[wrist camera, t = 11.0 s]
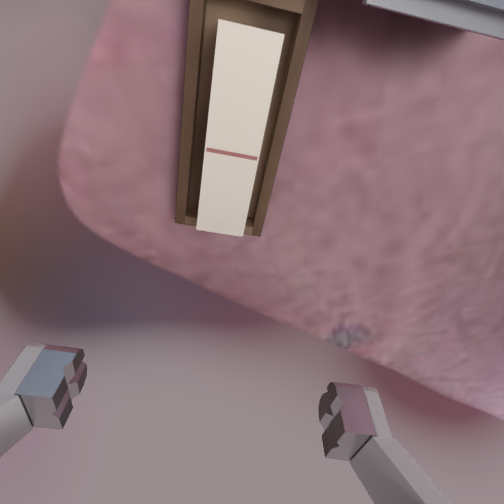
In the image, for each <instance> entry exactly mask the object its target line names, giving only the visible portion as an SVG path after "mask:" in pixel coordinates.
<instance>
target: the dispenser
mask: <svg viewBox="0 0 504 504" xmlns="http://www.w3.org/2000/svg"><path fill="white" fill-rule="evenodd" d="M362 4H365V5H368V6H372V7H376V8H380V9H384V10H388V11H392V12H396V13H399V14H403V15H407V16H411V17H415V18H419V19H423V20H427V21H430V22H434V23H438V24H442V25H446V26H450V27H454V28H458V29H461V30H465V31H469V32H473V33H477V34H481V35H485V36H489V37H492V38H496V39H500V40H504V0H363V2H362Z"/></svg>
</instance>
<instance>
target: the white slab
mask: <svg viewBox="0 0 504 504" xmlns="http://www.w3.org/2000/svg"><path fill="white" fill-rule="evenodd" d="M284 36H285V34H281V33H278V32H274V31H269V30H265V29H261V28H257V27H252V26H248V25H244V24H240V23H235V22H231V21H227V20H222V19H218V29H217V38H216V47H215V57H214V66H213V76H212V85H211V94H210V104H209V113H208V123H207V132H206V142H205V151H204V160H203V170H202V179H201V189H200V198H199V208H198V217H197V226H196V230H202V231H208V232H214V233H221V234H227V235H233V236H240V237H243V234H244V229H245V224H246V219H247V214H248V210H249V205H250V200H251V195H252V190H253V185H254V181H255V176H256V171H257V166H258V161H259V156H260V152H261V147H262V142H263V137H264V132H265V128H266V123H267V118H268V113H269V108H270V103H271V99H272V94H273V89H274V84H275V79H276V74H277V70H278V65H279V60H280V55H281V50H282V45H283V41H284Z"/></svg>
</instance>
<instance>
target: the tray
mask: <svg viewBox="0 0 504 504" xmlns="http://www.w3.org/2000/svg"><path fill="white" fill-rule="evenodd" d="M318 3H319V0H190V5H189V20H188V35H187V50H186V65H185V80H184V96H183V111H182V126H181V141H180V156H179V171H178V186H177V202H176V217H175V223H179V224H185V225H192V226H197V217H198V208H199V198H200V189H201V179H202V170H203V160H204V151H205V142H206V132H207V123H208V113H209V104H210V94H211V85H212V76H213V66H214V57H215V47H216V38H217V29H218V19H222V20H227V21H231V22H235V23H240V24H244V25H248V26H252V27H257V28H261V29H265V30H269V31H274V32H278V33H281V34H285V36H284V41H283V45H282V50H281V55H280V60H279V65H278V70H277V74H276V79H275V84H274V89H273V94H272V99H271V103H270V108H269V113H268V118H267V123H266V128H265V132H264V137H263V142H262V147H261V152H260V156H259V161H258V166H257V171H256V176H255V181H254V185H253V190H252V195H251V200H250V205H249V210H248V214H247V219H246V224H245V229H244V234H247V235H254V236H261V232H262V228H263V224H264V220H265V216H266V212H267V208H268V204H269V200H270V196H271V192H272V188H273V184H274V180H275V175H276V171H277V167H278V163H279V159H280V155H281V151H282V147H283V143H284V139H285V135H286V131H287V127H288V123H289V119H290V115H291V111H292V107H293V103H294V99H295V95H296V91H297V87H298V83H299V79H300V75H301V71H302V67H303V63H304V59H305V55H306V51H307V47H308V43H309V39H310V35H311V31H312V27H313V23H314V19H315V15H316V11H317V7H318Z"/></svg>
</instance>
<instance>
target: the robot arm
mask: <svg viewBox="0 0 504 504" xmlns="http://www.w3.org/2000/svg"><path fill="white" fill-rule="evenodd" d="M84 356H85V355H84V351H83V349H77V348H69V347H62V346H54V345H49V344H42V343H34V342H31V343H30V344H28V345H27V346H26V347H25V348H24V349H23V351H22V352H21V353H20V355H19V356H18V357H17V359H16V360H15V362H14V363H13V365H12V366H11V367H10V369H9V370H8V372H7V373H6V374H5V376H4V377H3V379H2V380H1V381H0V457H1V456H2V455H3V454H4V453H5V452H7V451H8V450H9V449H10V448H11V447H12V446H13V445H15V444H16V443H17V442H18V441H19V440H20V439H22V438H23V437H24V436H25V435H26V434H27V433H28V432H30V431H31V430H32V427H41V428H53V429H63V427H64V425H65V423H66V421H67V419H68V417H69V414H70V412H71V411H72V408H73V406H72V401H71V400H72V399H73V398H74V397H76V396H77V395H78V394H80V392H81V389H82V387H83V385H84V382H85V379H86V375H87V365H86V363H84V362H83V361H82V360H83V358H84ZM327 389H328V392H326V393H324V394H323V395H322V397H321V399H320V402H319V420H320V423H321V424H322V426H323V427H324V428H325V431H324V433H323V435H322V440H323V447H324V453H325V457H326V458H332V459H340V460H347V461H350V464H351V466H352V467H353V469H354V471H355V472H356V474H357V476H358V477H359V479H360V480H361V482H362V484H363V485H364V487H365V488H366V490H367V492H368V494H369V495H370V497H371V498H372V500H373V502H374V503H375V504H452V503H451V502H450V501H449V500H448V498H447V497H446V496H445V495H444V494H443V493H442V491H441V490H440V489H439V488H438V487H437V485H436V484H435V483H434V482H433V481H432V480H431V478H430V477H429V476H428V475H427V474H426V473H425V472H424V470H423V469H422V468H421V467H420V466H419V464H418V463H417V462H416V461H415V460H414V458H413V457H412V456H411V455H410V454H409V453H408V451H407V450H406V449H405V448H404V447H403V446H402V444H401V443H400V442H399V441H398V440H397V439H393V437H392V434H391V431H390V428H389V425H388V422H387V419H386V416H385V413H384V410H383V406H382V403H381V400H380V397H379V394H378V391H377V390H376V389H375V388H374V387H369V386H360V385H354V384H345V383H337V382H331V383H329V385H328V387H327Z"/></svg>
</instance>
